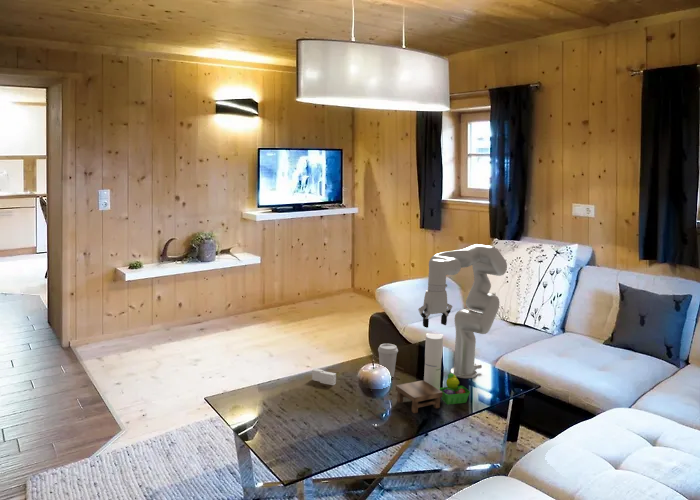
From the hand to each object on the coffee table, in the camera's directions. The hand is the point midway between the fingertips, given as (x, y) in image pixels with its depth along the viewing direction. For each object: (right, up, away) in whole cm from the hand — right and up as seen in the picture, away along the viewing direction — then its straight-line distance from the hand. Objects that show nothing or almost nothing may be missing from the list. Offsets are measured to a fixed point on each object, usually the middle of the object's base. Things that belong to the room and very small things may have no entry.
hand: (434, 325), depth 250 cm
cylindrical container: (-1, -30, +5) cm, 30 cm away
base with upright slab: (+7, -23, +49) cm, 54 cm away
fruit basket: (+7, -32, -5) cm, 33 cm away
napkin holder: (-49, -28, +12) cm, 58 cm away
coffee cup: (-20, -27, +19) cm, 39 cm away
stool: (-8, -32, -10) cm, 35 cm away
